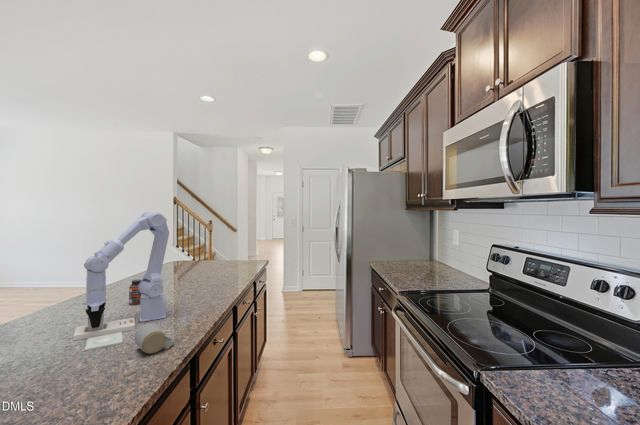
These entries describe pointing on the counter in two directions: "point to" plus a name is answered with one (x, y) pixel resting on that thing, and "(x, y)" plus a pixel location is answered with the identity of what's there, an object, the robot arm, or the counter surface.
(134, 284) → the supplement bottle
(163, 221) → the robot arm
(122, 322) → the power strip
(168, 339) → the ceramic mug
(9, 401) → the counter surface
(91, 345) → the pad
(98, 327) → the block
